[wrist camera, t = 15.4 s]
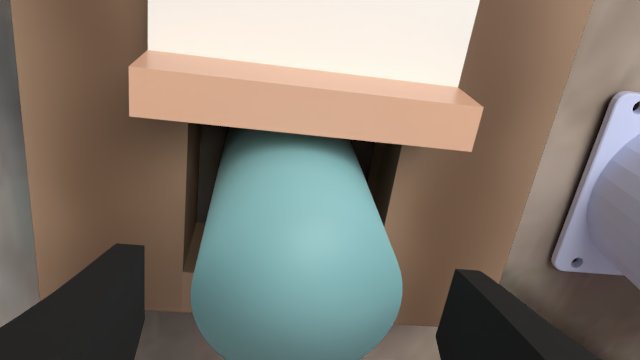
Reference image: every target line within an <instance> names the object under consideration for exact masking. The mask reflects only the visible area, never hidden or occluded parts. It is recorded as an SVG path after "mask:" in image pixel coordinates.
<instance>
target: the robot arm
mask: <svg viewBox="0 0 640 360" xmlns="http://www.w3.org/2000/svg"><path fill="white" fill-rule="evenodd" d="M637 102H640V93H639V92H631V91H622V92H620V93H617V94H616V95H615V96H614V97H613V98H612V100H611V101H610V104H609V106H608V109H607V112H606V114H605V117H604V120H603V122H602V125H601V128H600V130H599V133H598V136H597V138H596V141H595V144H594V146H593V149H592V152H591V154H590V157H589V159H588V162H587V165H586V167H585V170H584V173H583V175H582V178H581V181H580V183H579V186H578V189H577V191H576V194H575V197H574V199H573V202H572V205H571V207H570V210H569V213H568V215H567V218H566V221H565V223H564V226H563V229H562V231H561V234H560V236H559V239H558V242H557V244H556V247H555V250H554V252H553V255H552V259H551V261H552V264H553V265H554V266H555V267H556V268H557V269H558V270H560V271H569V272H583V273H596V274H610V275H624V276H626V277H627V278H628V279H629V280H630V281H631V282H632V283H633V284H634V285H635V286H636V287H637V288H638V289H639V290H640V104H639V107H638V108H637V109H636V110H634V111H633V106H634V105H635V104H636V103H637ZM575 258H578V259H577V260H576V261H575V262H573V263H571V262H572V261H573V260H574V259H575ZM144 320H145V245H132V244H119V243H116V244H115V245H113V246H112V247H111V248H109V249H108V250H107V251H105V252H104V253H103V254H102V255H100V256H99V257H98V258H97V259H95V260H94V261H93V262H92V263H90V264H89V265H88V266H87V267H85V268H84V269H83V270H82V271H80V272H79V273H78V274H77V275H75V276H74V277H73V278H71V279H70V280H69V281H67V282H66V283H65V284H63V285H62V286H61V287H59V288H58V289H57V290H56V291H54V292H53V293H52V294H50V295H49V296H47V297H46V298H44V299H43V300H41V301H40V302H39V303H37V304H36V305H34V306H33V307H31V308H30V309H28V310H27V311H25V312H24V313H22V314H21V315H20V316H18V317H17V318H15V319H13V320H12V321H10V322H9V323H7V324H5V325H4V326H2V327H1V328H0V360H134V358H135V354H136V351H137V347H138V343H139V339H140V335H141V331H142V328H143V324H144ZM436 340H437V344H438V349H439V353H440V358H441V360H601V359H599V358H598V357H596V356H595V355H593V354H592V353H590V352H589V351H587V350H586V349H584V348H583V347H581V346H580V345H579V344H577V343H576V342H574V341H573V340H571V339H570V338H569V337H567V336H566V335H564V334H563V333H562V332H560V331H559V330H558V329H556V328H555V327H554V326H552V325H551V324H550V323H548V322H547V321H546V320H544V319H543V318H542V317H540V316H539V315H538V314H537V313H535V312H534V311H533V310H531V309H530V308H529V307H528V306H526V305H525V304H524V303H522V302H521V301H520V300H519V299H517V298H516V297H515V296H514V295H512V294H511V293H510V292H508V291H507V290H506V289H505V288H503V287H502V286H501V285H499V284H498V283H497V282H495V281H494V280H493V279H491V278H490V277H488V276H487V275H486V274H484V273H483V272H481V271H478V270H465V269H455V271H454V275H453V278H452V282H451V285H450V289H449V292H448V296H447V299H446V302H445V306H444V309H443V313H442V316H441V320H440V323H439V326H438V330H437V333H436Z"/></svg>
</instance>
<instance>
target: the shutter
mask: <svg viewBox="0 0 640 360" xmlns="http://www.w3.org/2000/svg"><path fill="white" fill-rule="evenodd" d="M479 2H480V0H148V50H147V51H146V52H145V53H143V54H142V55H141V56H140V57H139V58H138V59H137V60H135V61H134V62H133V63H132V64H131V65H130V66H129V116H130V117H140V118H150V119H159V120H169V121H178V122H188V123H198V124H207V125H217V126H227V127H236V128H246V129H256V130H265V131H275V132H285V133H294V134H304V135H314V136H323V137H333V138H342V139H352V140H362V141H371V142H381V143H391V144H400V145H410V146H420V147H429V148H439V149H449V150H458V151H468V152H472V149H473V145H474V141H475V138H476V134H477V130H478V127H479V123H480V120H481V116H482V112H483V109H484V107H482V106H481V105H480V104H479V103H477V102H476V101H475V100H474V99H472V98H471V97H470V96H469V95H467V94H466V93H465V92H463V91H462V90H461V89H460V88H458V85H459V81H460V77H461V73H462V69H463V65H464V61H465V57H466V53H467V49H468V45H469V41H470V37H471V33H472V29H473V26H474V22H475V18H476V14H477V10H478V6H479Z"/></svg>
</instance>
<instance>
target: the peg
mask: <svg viewBox="0 0 640 360" xmlns="http://www.w3.org/2000/svg"><path fill="white" fill-rule="evenodd" d="M402 285H403V283H402V277H401V271H400V268H399V265H398V262H397V259H396V256H395V254H394V251H393V249H392V246H391V244H390V241H389V239H388V236H387V233H386V231H385V228H384V226H383V223H382V221H381V218H380V215H379V213H378V210H377V208H376V205H375V203H374V200H373V197H372V195H371V192H370V190H369V187H368V185H367V182H366V180H365V177H364V174H363V172H362V169H361V167H360V164H359V162H358V159H357V156H356V154H355V151H354V149H353V146H352V144H351V141H350V139H342V138H333V137H323V136H314V135H304V134H294V133H285V132H275V131H265V130H256V129H246V128H236V127H230V128H229V130H228V133H227V136H226V140H225V144H224V148H223V152H222V156H221V161H220V165H219V169H218V173H217V178H216V182H215V186H214V190H213V194H212V199H211V203H210V207H209V211H208V216H207V220H206V224H205V228H204V232H203V237H202V241H201V245H200V249H199V254H198V258H197V262H196V266H195V270H194V275H193V279H192V285H191V307H192V312H193V316H194V319H195V322H196V324H197V327H198V328H199V330H200V332H201V334H202V335H203V337H204V338H205V339H206V341H207V342H208V343H209V345H210V346H211V347H212V348H213V349H214V350H215V351H216V352H217V353H219V354H220V355H221V356H223V357H224V358H225V359H227V360H359V359H361V358H362V357H363V356H365V355H366V354H368V353H369V352H370V351H371V350H372V349H374V348H375V347H376V346H377V345H378V344H379V343H380V342H381V340H382V339H383V338H384V337H385V336H386V334H387V333H388V332H389V330H390V329H391V327H392V325H393V323H394V321H395V319H396V317H397V315H398V312H399V309H400V306H401V300H402Z"/></svg>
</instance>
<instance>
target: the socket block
mask: <svg viewBox="0 0 640 360" xmlns="http://www.w3.org/2000/svg"><path fill="white" fill-rule="evenodd" d="M10 2H11V12H12V22H13V32H14V42H15V52H16V62H17V73H18V83H19V93H20V103H21V113H22V123H23V133H24V143H25V153H26V163H27V173H28V183H29V193H30V203H31V213H32V223H33V233H34V243H35V254H36V264H37V274H38V284H39V294H40V301H41V300H43V299H44V298H46V297H47V296H49V295H50V294H52V293H53V292H54V291H56V290H57V289H58V288H59V287H61V286H62V285H63V284H65V283H66V282H67V281H69V280H70V279H71V278H73V277H74V276H75V275H77V274H78V273H79V272H80V271H82V270H83V269H84V268H85V267H87V266H88V265H89V264H90V263H92V262H93V261H94V260H95V259H97V258H98V257H99V256H100V255H102V254H103V253H104V252H105V251H107V250H108V249H109V248H111V247H112V246H113V245H115V244H116V243H119V244H132V245H145V310H151V311H168V312H186V313H193V312H192V307H191V285H192V279H193V275H194V270H195V266H196V262H197V258H198V254H199V249H200V245H201V241H202V237H203V232H204V228H205V224H206V222H197V201H198V180H199V158H200V137H201V124H198V123H188V122H178V121H169V120H159V119H150V118H140V117H130V116H129V66H130V65H131V64H132V63H133V62H134V61H135V60H137V59H138V58H139V57H140V56H141V55H142V54H143V53H145V52H146V51H147V50H148V0H10ZM593 3H594V0H480V2H479V6H478V10H477V14H476V18H475V22H474V26H473V29H472V33H471V37H470V41H469V45H468V49H467V53H466V57H465V61H464V65H463V69H462V73H461V77H460V81H459V85H458V88H460V89H461V90H462V91H463V92H465V93H466V94H467V95H469V96H470V97H471V98H472V99H474V100H475V101H476V102H477V103H479V104H480V105H481V106H482V107H484V109H483V112H482V116H481V120H480V123H479V127H478V130H477V134H476V138H475V141H474V145H473V149H472V152H468V151H458V150H449V149H439V148H429V147H420V146H410V145H400V144H391V143H381V142H375V146H374V151H373V156H372V161H371V166H370V171H369V177H368V182H367V185H368V187H369V190H370V192H371V195H372V197H373V200H374V203H375V205H376V208H377V210H378V213H379V215H380V218H381V221H382V223H383V226H384V228H385V231H386V233H387V236H388V239H389V241H390V244H391V246H392V249H393V251H394V254H395V256H396V259H397V262H398V265H399V268H400V271H401V277H402V283H403V285H402V300H401V306H400V309H399V312H398V315H397V317H396V319H395V321H394V323H393V324H399V325H417V326H435V327H438V326H439V323H440V320H441V316H442V313H443V309H444V306H445V302H446V299H447V296H448V292H449V289H450V285H451V282H452V278H453V275H454V271H455V269H465V270H478V271H481V272H483V273H484V274H486V275H487V276H488V277H490V278H491V279H493V280H494V281H495V282H497V283H498V284H499V282H500V279H501V276H502V273H503V270H504V267H505V264H506V261H507V258H508V255H509V252H510V249H511V246H512V244H513V241H514V238H515V235H516V232H517V229H518V226H519V223H520V220H521V217H522V214H523V211H524V208H525V205H526V202H527V199H528V196H529V193H530V190H531V187H532V184H533V181H534V178H535V175H536V172H537V169H538V166H539V163H540V160H541V157H542V154H543V151H544V148H545V145H546V142H547V139H548V136H549V133H550V130H551V128H552V125H553V122H554V119H555V116H556V113H557V110H558V107H559V104H560V101H561V98H562V95H563V92H564V89H565V86H566V83H567V80H568V77H569V74H570V71H571V68H572V65H573V62H574V59H575V56H576V53H577V50H578V47H579V44H580V41H581V38H582V35H583V32H584V29H585V26H586V23H587V20H588V17H589V14H590V12H591V9H592V6H593Z"/></svg>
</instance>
